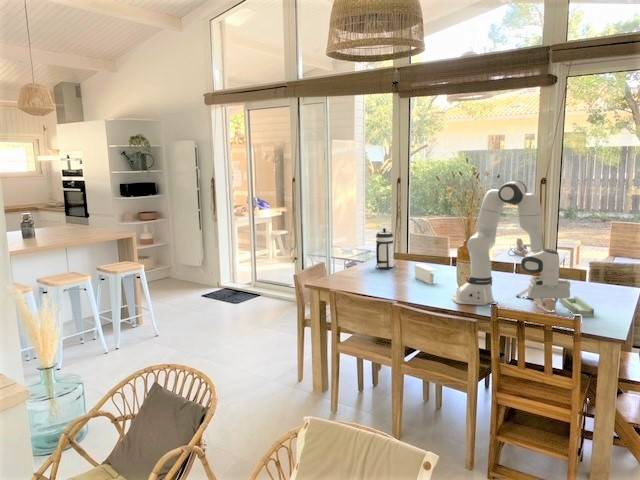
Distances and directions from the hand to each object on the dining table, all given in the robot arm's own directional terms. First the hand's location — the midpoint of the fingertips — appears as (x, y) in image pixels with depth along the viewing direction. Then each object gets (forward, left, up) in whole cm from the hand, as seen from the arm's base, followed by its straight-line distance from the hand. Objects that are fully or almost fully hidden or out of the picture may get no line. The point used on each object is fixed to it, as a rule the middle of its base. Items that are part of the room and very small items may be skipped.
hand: (548, 306), depth 255 cm
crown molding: (+4, +33, -3) cm, 34 cm away
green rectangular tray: (+14, +1, -2) cm, 14 cm away
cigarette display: (-58, +63, -3) cm, 86 cm away
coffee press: (-85, +100, -2) cm, 131 cm away
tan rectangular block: (-1, +4, -2) cm, 5 cm away
